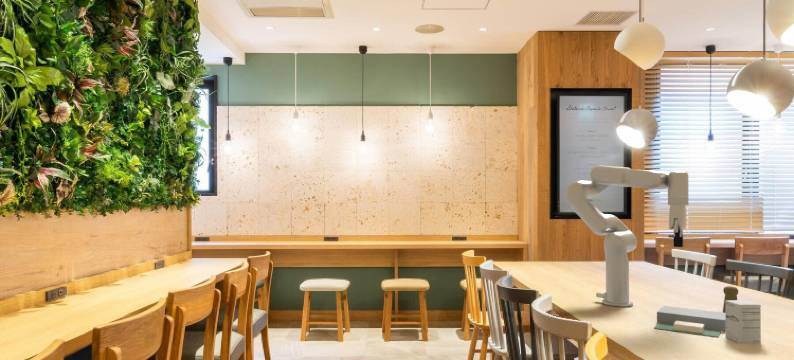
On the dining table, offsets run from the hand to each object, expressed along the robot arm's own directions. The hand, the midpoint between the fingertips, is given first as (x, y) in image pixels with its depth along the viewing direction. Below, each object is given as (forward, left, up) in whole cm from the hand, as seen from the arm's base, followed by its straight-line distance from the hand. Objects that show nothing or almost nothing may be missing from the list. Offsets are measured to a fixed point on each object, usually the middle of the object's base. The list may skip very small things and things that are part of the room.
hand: (678, 246), depth 220 cm
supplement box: (+24, -32, -27) cm, 48 cm away
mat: (+7, -28, -27) cm, 40 cm away
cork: (+17, +13, -27) cm, 35 cm away
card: (+8, -28, -25) cm, 38 cm away
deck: (+7, -15, -27) cm, 32 cm away
